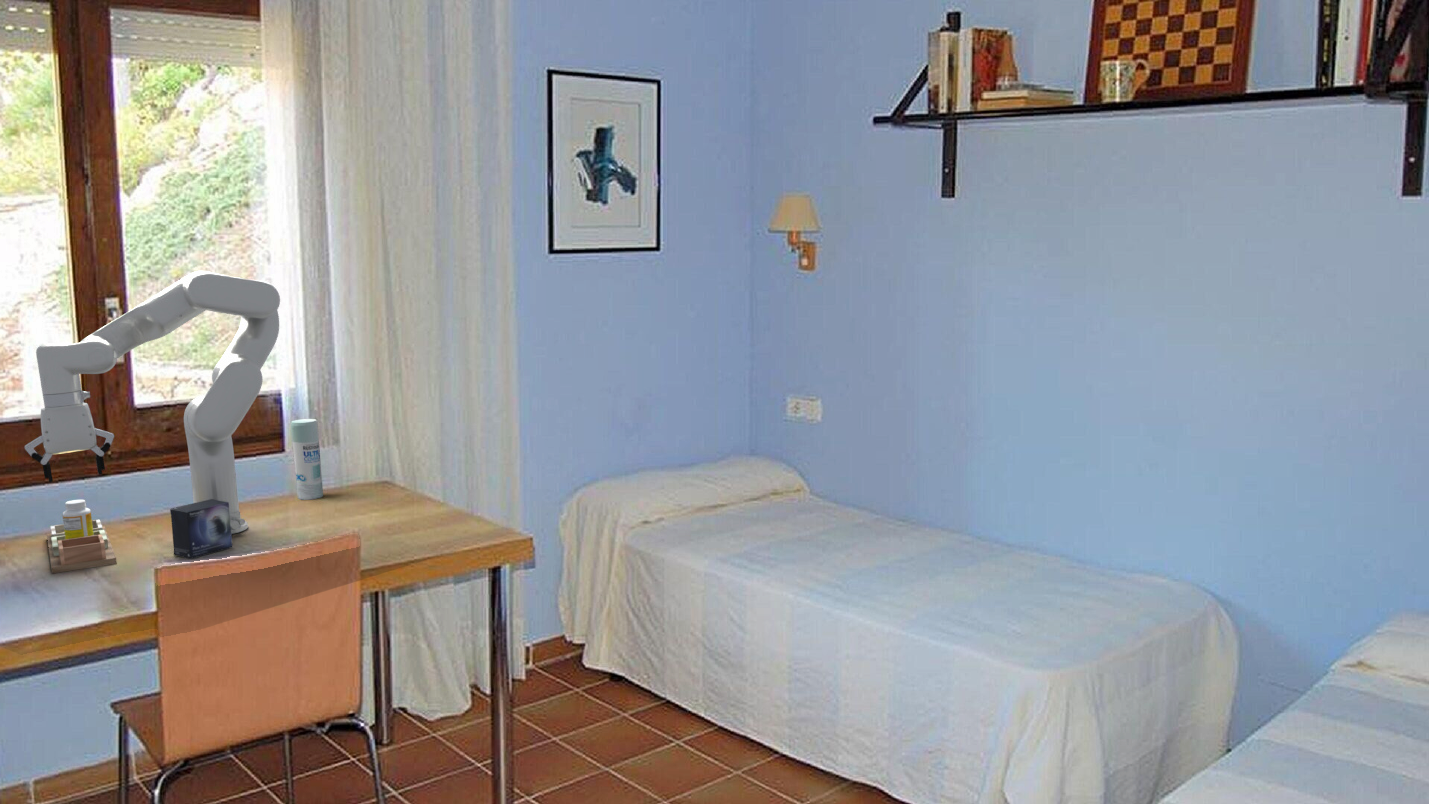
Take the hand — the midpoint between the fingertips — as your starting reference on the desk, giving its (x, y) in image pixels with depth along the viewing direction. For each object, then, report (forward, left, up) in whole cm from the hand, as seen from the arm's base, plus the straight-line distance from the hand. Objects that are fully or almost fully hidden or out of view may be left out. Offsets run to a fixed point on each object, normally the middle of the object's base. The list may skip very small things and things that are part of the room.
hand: (75, 477), depth 265 cm
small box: (-24, -14, -17) cm, 33 cm away
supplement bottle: (0, +1, -16) cm, 16 cm away
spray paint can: (+2, -59, -17) cm, 61 cm away
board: (+2, 0, -17) cm, 17 cm away
